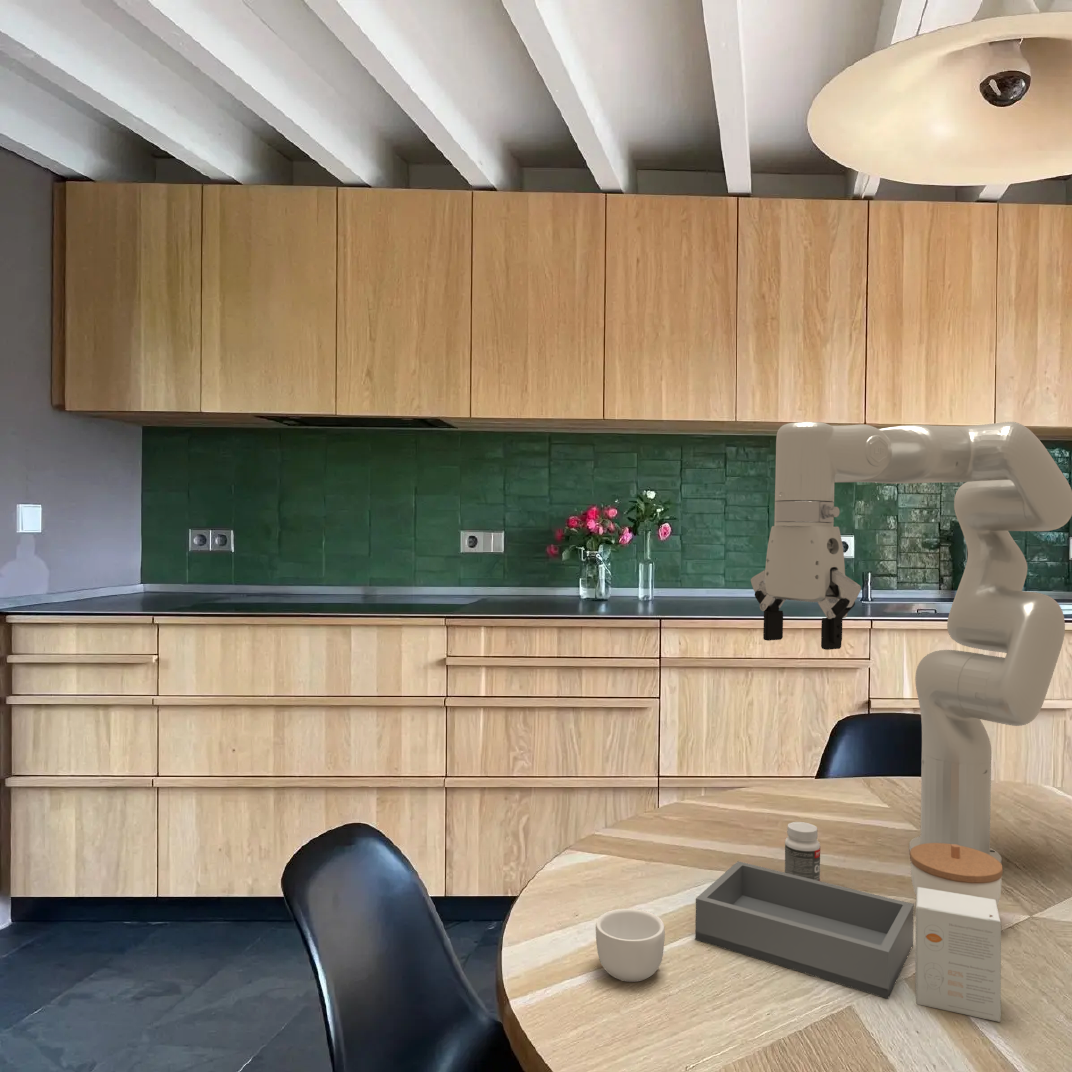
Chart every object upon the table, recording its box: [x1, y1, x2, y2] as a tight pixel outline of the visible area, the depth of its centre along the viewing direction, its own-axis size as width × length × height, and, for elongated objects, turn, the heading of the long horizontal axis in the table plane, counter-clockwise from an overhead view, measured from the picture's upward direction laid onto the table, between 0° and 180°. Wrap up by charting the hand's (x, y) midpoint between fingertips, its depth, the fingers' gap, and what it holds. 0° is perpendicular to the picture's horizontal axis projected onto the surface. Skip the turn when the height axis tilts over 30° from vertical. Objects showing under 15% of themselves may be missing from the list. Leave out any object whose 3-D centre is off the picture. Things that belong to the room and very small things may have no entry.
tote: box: [694, 860, 915, 1000], centre depth 101 cm, size 14×22×5 cm, turn 56°
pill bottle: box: [784, 821, 821, 881], centre depth 117 cm, size 5×5×8 cm
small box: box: [914, 887, 1002, 1023], centre depth 88 cm, size 8×6×10 cm
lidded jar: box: [909, 843, 1004, 906], centre depth 107 cm, size 11×11×9 cm
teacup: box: [595, 908, 666, 983], centre depth 94 cm, size 10×8×5 cm
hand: (801, 644), depth 111 cm, fingers open, 9 cm apart
